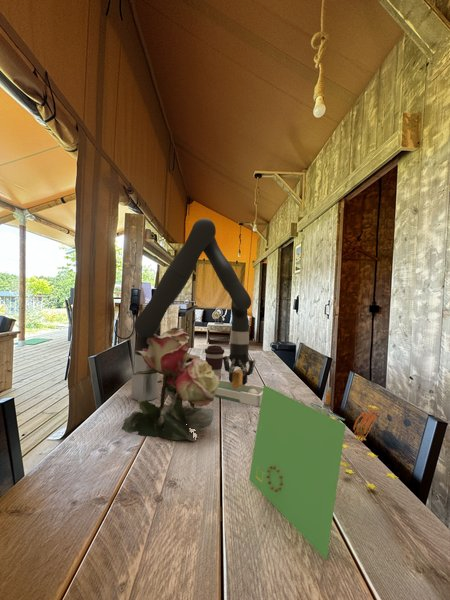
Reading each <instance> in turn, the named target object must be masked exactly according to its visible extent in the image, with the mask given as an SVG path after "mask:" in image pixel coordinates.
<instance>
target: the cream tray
mask: <svg viewBox="0 0 450 600" xmlns="http://www.w3.org/2000/svg"><path fill="white" fill-rule="evenodd" d="M263 387H264V386H260V385H255V384H245V385H243V391H241V392H236V391H232V383H231V382H230V381H229V380H224V379H220V381H219V385H218V388H217V391H216V393H215V396H214V398H221V399H223V400H229V401H233V402H238V403H242V404H245V405H249V406H254V407H260V406H261V400H262V394H263ZM250 389H255V390H256V391H257V394H258V395H257V394H252V393H248V391H249V390H250Z"/></svg>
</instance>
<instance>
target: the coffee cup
mask: <svg viewBox="0 0 450 600" xmlns="http://www.w3.org/2000/svg"><path fill="white" fill-rule="evenodd" d="M204 353H205V358H204V359H205V361H207V362H208V364H209V365H210V366H211V367H212V371H214V373H215V375H217V376H219V377H220V378H221V376H222V369H223V364H224V362H223V357H224V354H225V349H224V348H222V346H220V345H208V346H207V348H205V349H204Z"/></svg>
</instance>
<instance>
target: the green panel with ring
mask: <svg viewBox="0 0 450 600" xmlns="http://www.w3.org/2000/svg"><path fill="white" fill-rule="evenodd" d="M262 387H263V394H262V400H261V405H260V406H259V407H260V408H259V413H258V418H257V419H258V421H257V426H256V432H255V433H256V434H255V440H254V446H253V452H252V459H251V464H250V465H251V466H250V472H249V477H248V478H249V479H248V480H249V481H250V482H251V483H252V485H253V486H255V487H256V488H257V490H258V491H259V492H261V494H262V495H263V496H264V497H265V498H266V499H267V501H269V502H270V503H271V505H273V506H274V508H276V510H278V512H279V513H281V515H283V517H285V518H286V519H287V521H288V522H289V523H290V524H291V525H292V526H293V527H294V528H295V529H296V531H298V532H299V533H300V535H302V536H303V537H304V539H305V540H306V541H307V542H309V543H308V544H310V545H311V546H312V547H313V548H314V549H315V550H316V551H317V552H318V553H319V554H320V555H321V556H322V557H323V558H324V559H325V561H327V559H328V553H329V549H330V548H329V547H330V540H331V539H330V538H331V534H332V533H331V531H332V525H333V517H334V511H335V503H336V497H337V488H338V483H339V474H340V470H341V469H340V468H341V466H343V467H344V470H345V471H344V473H347V474H349V475H352V474H353V475H354V474H356V473H355V472H354V471H353V470H352V469H348V467H349V468H350V467H351V465H350V464H348V462H343V461H342V454H343V453H342V452H343V450H346V449H350V446H347V444H344V440H345V433H346V424H345V423H343V422H341V421H339V420H338V419H340V420H342V421H345V420H346V419H345V418H344V417H341V416H340V415H338V414H336V413H334V412H332V411H331V405H330V404H331V397H332V396H331V393H332V391H331V390H332V387H330V386H328V388H327V391H326V392H327V393H326V395H325V402H323V404H322V406H320V405H318V404H315V403H313V402H310V403H309V404H310V405H311V406H313V407H315V408H316V409H314V408H312V407H310V406H309V405H307V404H304V403H302V402H300V401H298V400H296V399H294V398H291V397H289V396H288V395H286V394H283V393H281V392H280V391H277V390H275V389H274V388H271V387H269V386H268V385H266V384H263V386H262ZM367 408H368V412H367V413H366V411H363V412H362V413H361V414H360V415H358V418H357V419H356V420H355V423H354V425H353V427H352V429H353V431H354V433H353V434H354V435H355V437H354V439H356V440H359V441H361V442H363V441H367V439H366V437H367V435H368V434H369V432H370V431H371V429H372V428H373V425H374V424H375V422H376V420H377V418H378V416H379V414H380V412H381V410H380V408H379V407H376V406H375V405H374V406H373V404H371V405H370V404H368V406H367ZM317 409H319V410H321V412H320V411H319V410H317ZM371 409H372V410H371ZM370 411H371V412H370ZM331 416H333V417H331ZM361 417H362V419H361V421H360V422H358V421H359V420H360V418H361ZM336 418H337V419H336ZM366 456H367V457H370V458H372V459H374V458H379V457H378V456H379V455H376V454H374V453H372V452H368V451H366ZM385 474H386V475H385V476H386V477H387V478H390V479H392V480H395V479H399V477H398V476H396V475H395V474H394V473H390V472H389V473H388V472H386V473H385ZM365 484H366V485H365V487H367V488H370V489H371V490H374V489H378V486H375V485H374V483H369V482H366V483H365Z"/></svg>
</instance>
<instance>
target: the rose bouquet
mask: <svg viewBox="0 0 450 600" xmlns="http://www.w3.org/2000/svg"><path fill="white" fill-rule="evenodd" d="M154 336H155V337H151V338H147V343H148V344H149V345H150V346H149V347H148V348H149V349H144V348H143V350H142V351H140V350H136V351H135V350H134V353H135V352H140V353H141V355H142V356H143V359H144V361H145V363H146V364H147V365H148V366H149V367H150V368H152V369H151V370H149V371H139V372H136V373H134V372H133V373H132V374H133V375H137V374H141V375H148V374H155V373H157V372H158V374H160V375H163V377H162V379H158V381H157V383H158V384H159V383H160V384H161V383H162V386H161V392H160V401H159V403H160V406H157V405H156V404H154V403H151V402H149V401H147V400H139V401H138V400H137V402H136V403H137V404H138V406H139V409H140V411H136V410H135V411H134V412H132V414H130V415H129V416H128V417H126V418H124V421H123V424H122V426H121V429H122V430H123V432H125V433H129V434H133V435H134V433H136V435H138V436H144V437H151V438H157V437H158V438H159V437H161V438H165V439H167V440H172V441H185V440H188V441H191V442H197V440H195V437H194V438H193V432H192V433H191V432H189V428H191V429H195V430H196V431H194V433H196V434H203V432H202V428H204V427H208V426H210V425H211V424H212V421H213V415H214V410H213V409H212V408H203V407H204V406H208V405H209V404H211V403H212V402H213V401H214V398H215V393H216V391H217V388H218V385H219V381H220V380H221V376H220V377H219V376H217V375H215V373H214V371H212V367H211V366H210V365H209V364H208V362H207V361H206V359H205V360H203V359H202V358H200V356H199V355H195V354H191V353H188V352H189V350H190V346H189V345H188V344H189V340H190V337H189V333H187V332H185V330H184V328H182V327H173V328H171V329H169V330H166V331H163V332H162V333H161V334H160V336H158V335H156V334H154ZM115 386H117V384H115ZM168 397H170V400H171V403H170V404H168V405H166V404H165V400H166V399H167V398H168ZM183 401H184V402H185V401H186V402H189V405H190V407H184V406H183ZM195 406H196V407H195ZM186 424H187V425H186ZM137 432H138V433H137Z"/></svg>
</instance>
